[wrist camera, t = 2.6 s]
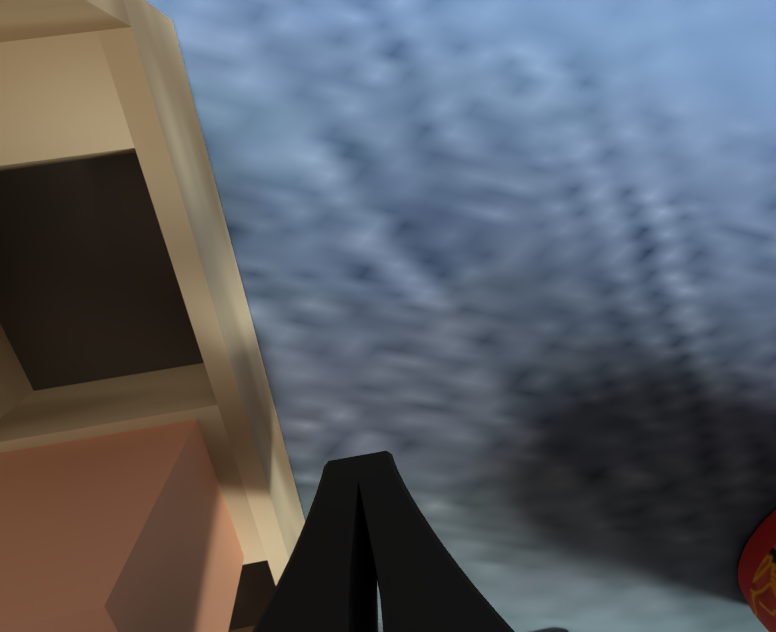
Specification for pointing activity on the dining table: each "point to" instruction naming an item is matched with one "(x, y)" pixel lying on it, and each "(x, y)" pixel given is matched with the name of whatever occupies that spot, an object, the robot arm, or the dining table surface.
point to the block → (116, 536)
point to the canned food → (760, 572)
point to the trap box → (128, 266)
